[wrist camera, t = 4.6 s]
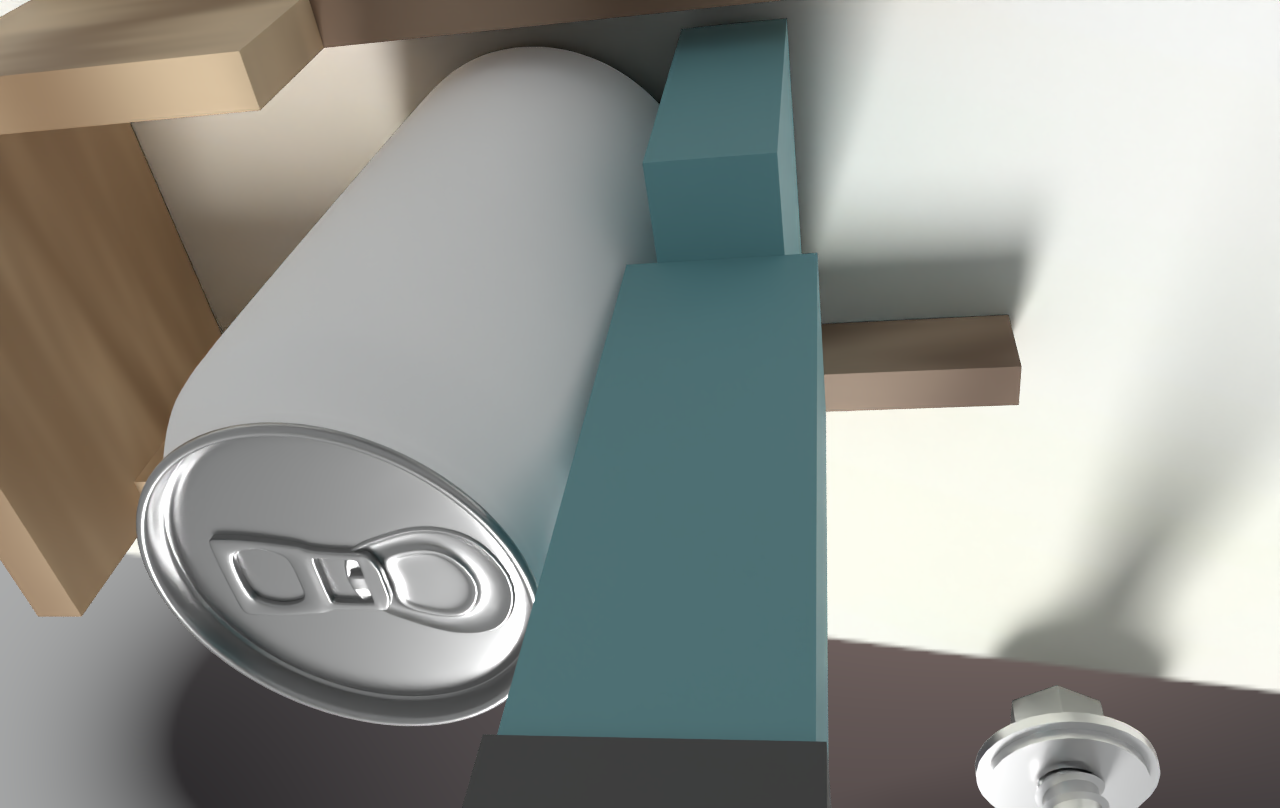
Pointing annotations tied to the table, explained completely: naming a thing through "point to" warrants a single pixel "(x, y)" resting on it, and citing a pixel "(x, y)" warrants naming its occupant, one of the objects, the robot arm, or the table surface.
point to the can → (409, 401)
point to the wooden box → (166, 282)
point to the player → (691, 488)
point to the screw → (1065, 756)
